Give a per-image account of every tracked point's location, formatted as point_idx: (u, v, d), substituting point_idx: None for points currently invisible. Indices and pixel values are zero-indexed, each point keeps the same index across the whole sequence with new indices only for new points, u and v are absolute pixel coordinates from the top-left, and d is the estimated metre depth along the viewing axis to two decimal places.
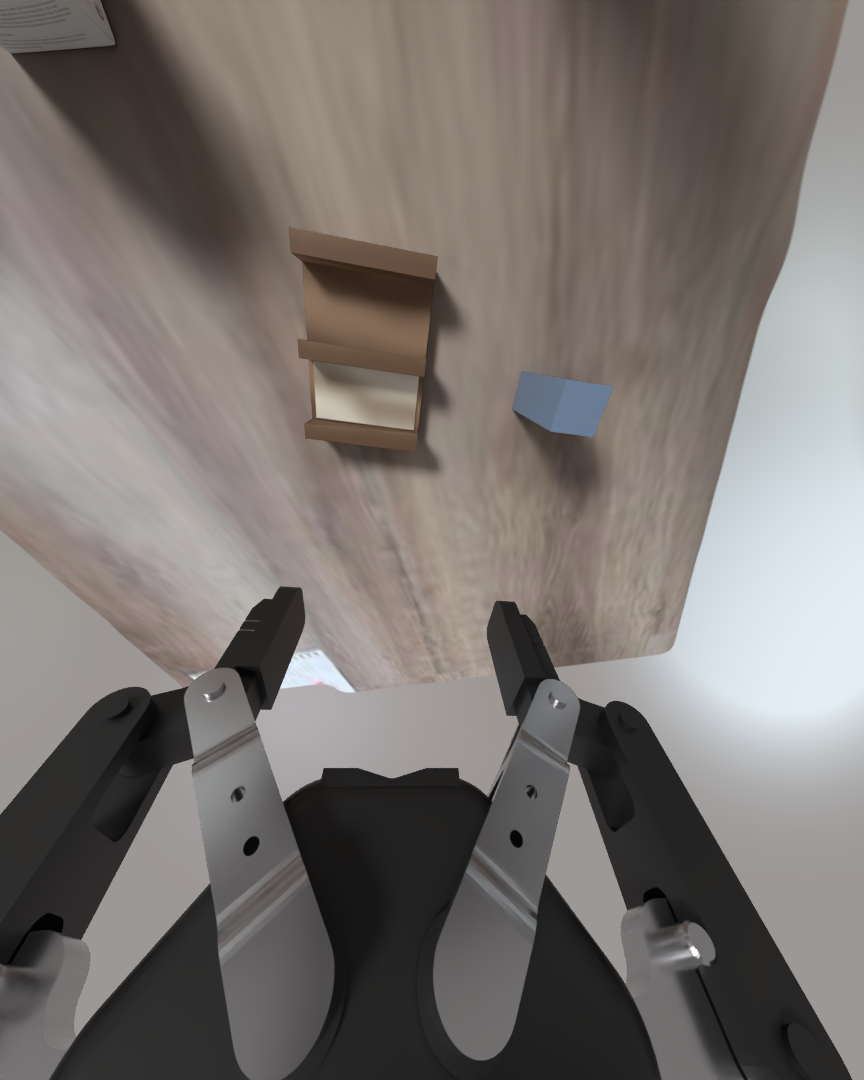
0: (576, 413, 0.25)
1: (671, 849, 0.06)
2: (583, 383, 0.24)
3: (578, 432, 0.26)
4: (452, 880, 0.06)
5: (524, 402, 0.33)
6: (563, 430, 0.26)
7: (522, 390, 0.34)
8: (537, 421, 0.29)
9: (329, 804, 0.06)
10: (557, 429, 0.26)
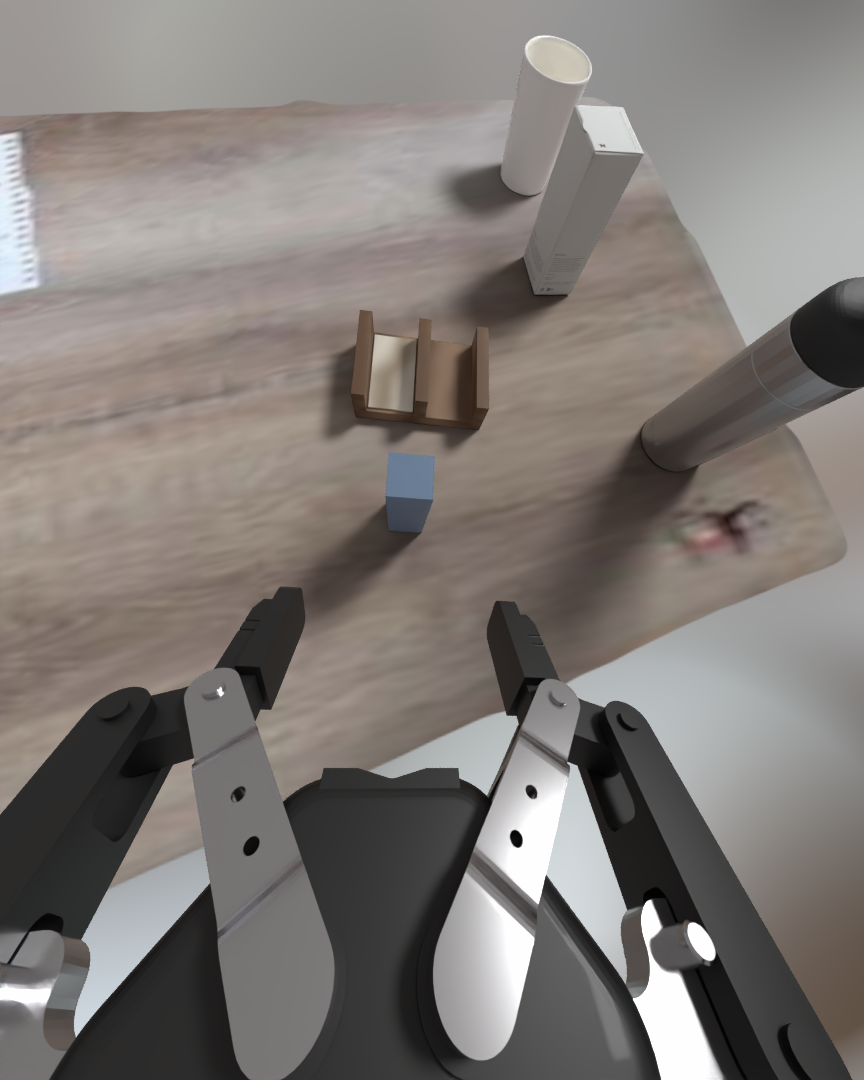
0: (406, 472, 0.26)
1: (671, 849, 0.06)
2: (433, 471, 0.26)
3: (389, 479, 0.26)
4: (452, 880, 0.06)
5: None
6: (390, 464, 0.26)
7: None
8: None
9: (329, 804, 0.06)
10: (391, 458, 0.26)
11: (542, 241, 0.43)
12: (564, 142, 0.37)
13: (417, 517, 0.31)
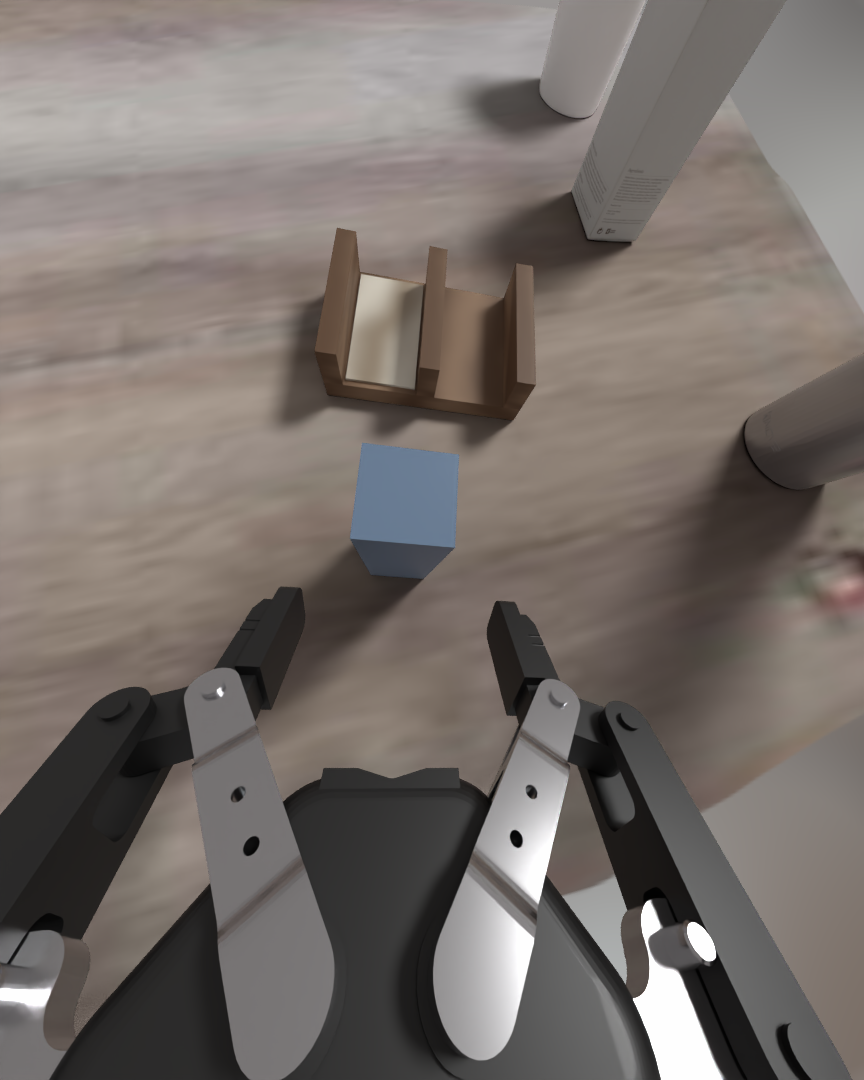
0: (399, 486, 0.12)
1: (671, 849, 0.06)
2: (455, 485, 0.12)
3: (360, 501, 0.12)
4: (452, 880, 0.06)
5: None
6: (364, 469, 0.12)
7: None
8: None
9: (329, 804, 0.06)
10: (366, 456, 0.12)
11: (607, 155, 0.30)
12: None
13: (418, 565, 0.17)
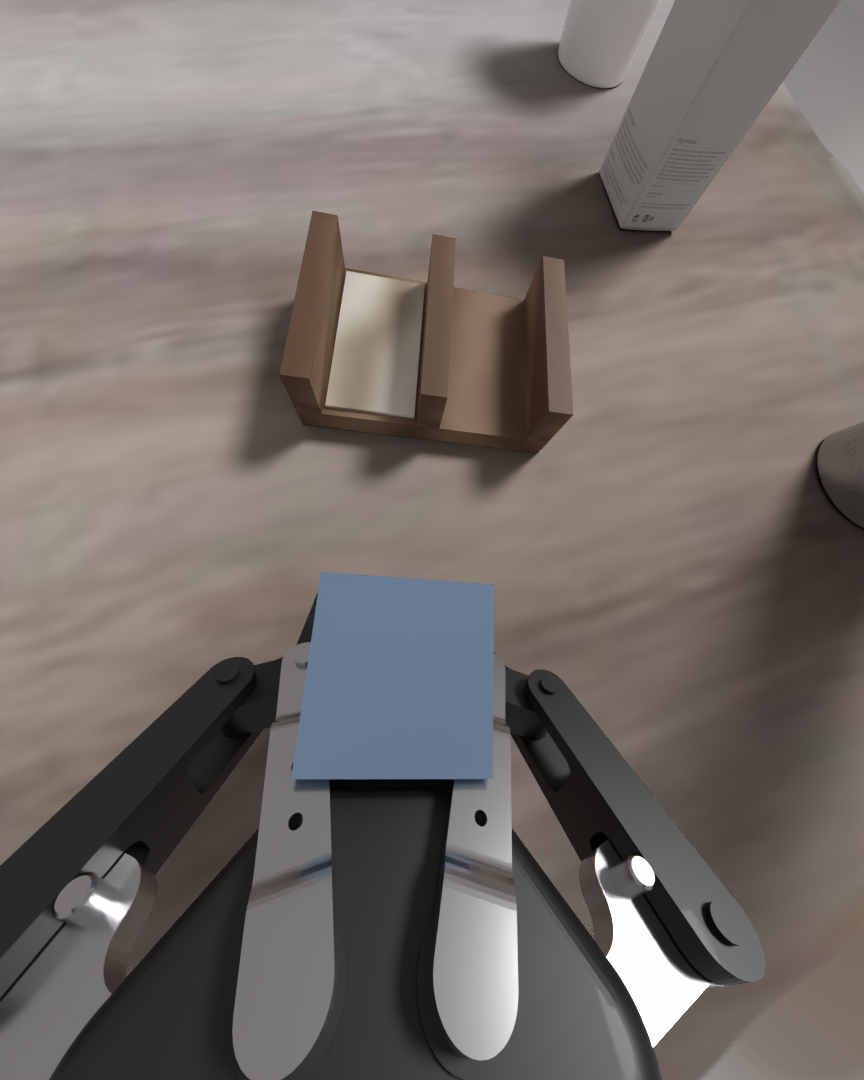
0: (388, 657, 0.07)
1: (604, 795, 0.07)
2: (489, 647, 0.07)
3: (314, 695, 0.06)
4: (431, 889, 0.05)
5: None
6: (323, 626, 0.07)
7: None
8: None
9: None
10: (328, 599, 0.07)
11: (649, 123, 0.25)
12: None
13: None
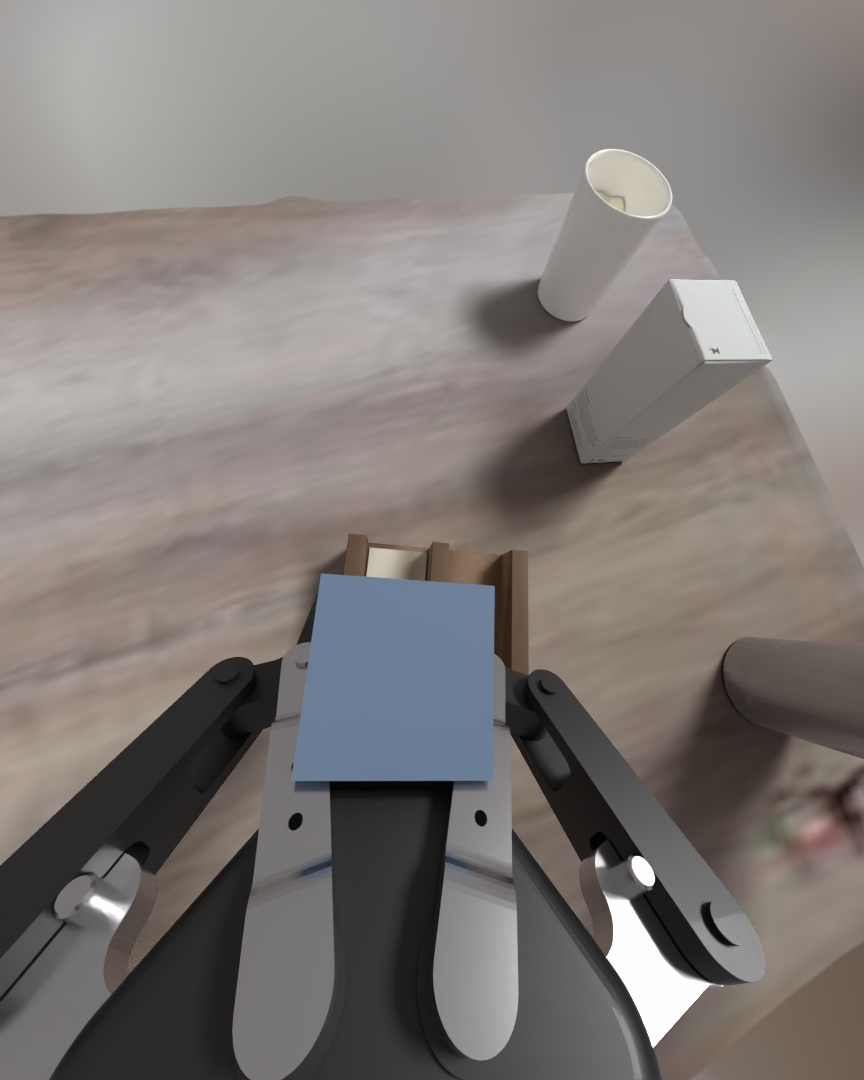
0: (388, 658, 0.07)
1: (604, 795, 0.07)
2: (489, 649, 0.07)
3: (314, 696, 0.06)
4: (431, 889, 0.05)
5: None
6: (323, 627, 0.07)
7: None
8: None
9: (329, 804, 0.06)
10: (328, 600, 0.07)
11: (598, 413, 0.33)
12: (646, 316, 0.26)
13: None
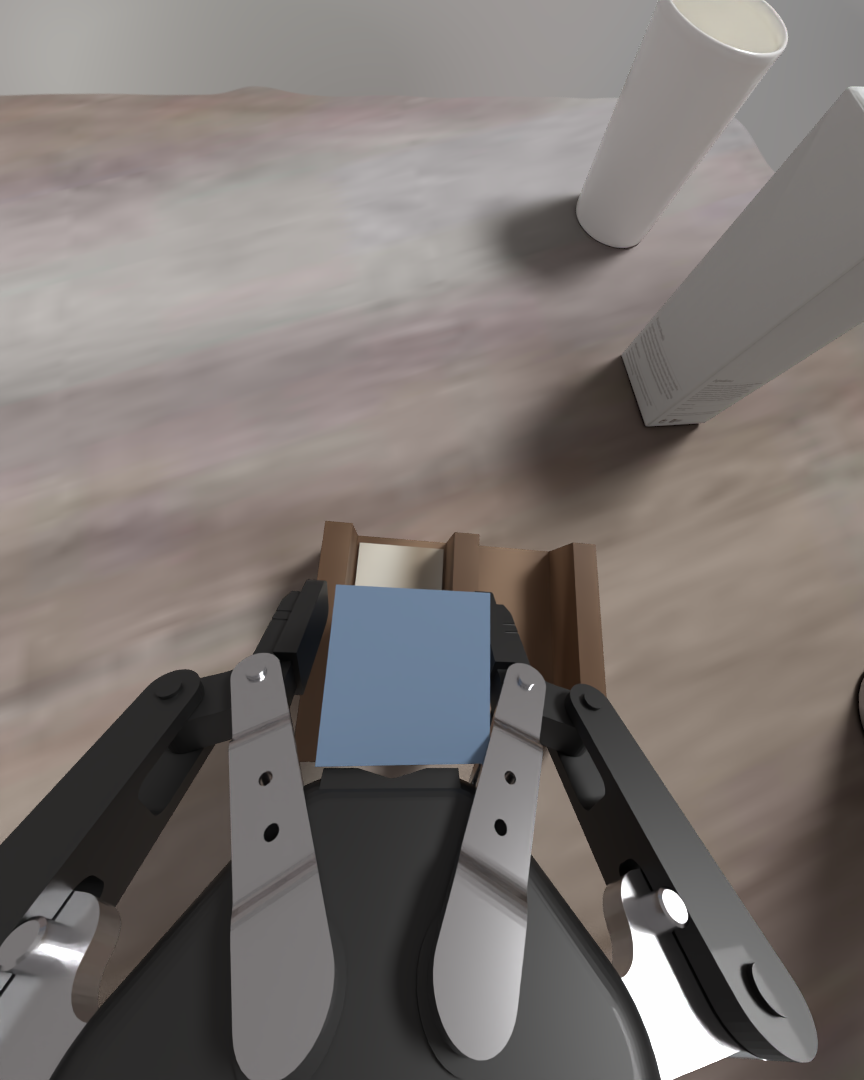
0: (397, 659, 0.07)
1: (640, 821, 0.07)
2: (486, 649, 0.08)
3: (333, 693, 0.07)
4: (442, 882, 0.06)
5: None
6: (339, 632, 0.07)
7: None
8: None
9: (329, 804, 0.06)
10: (343, 608, 0.07)
11: (681, 350, 0.23)
12: (789, 171, 0.16)
13: None
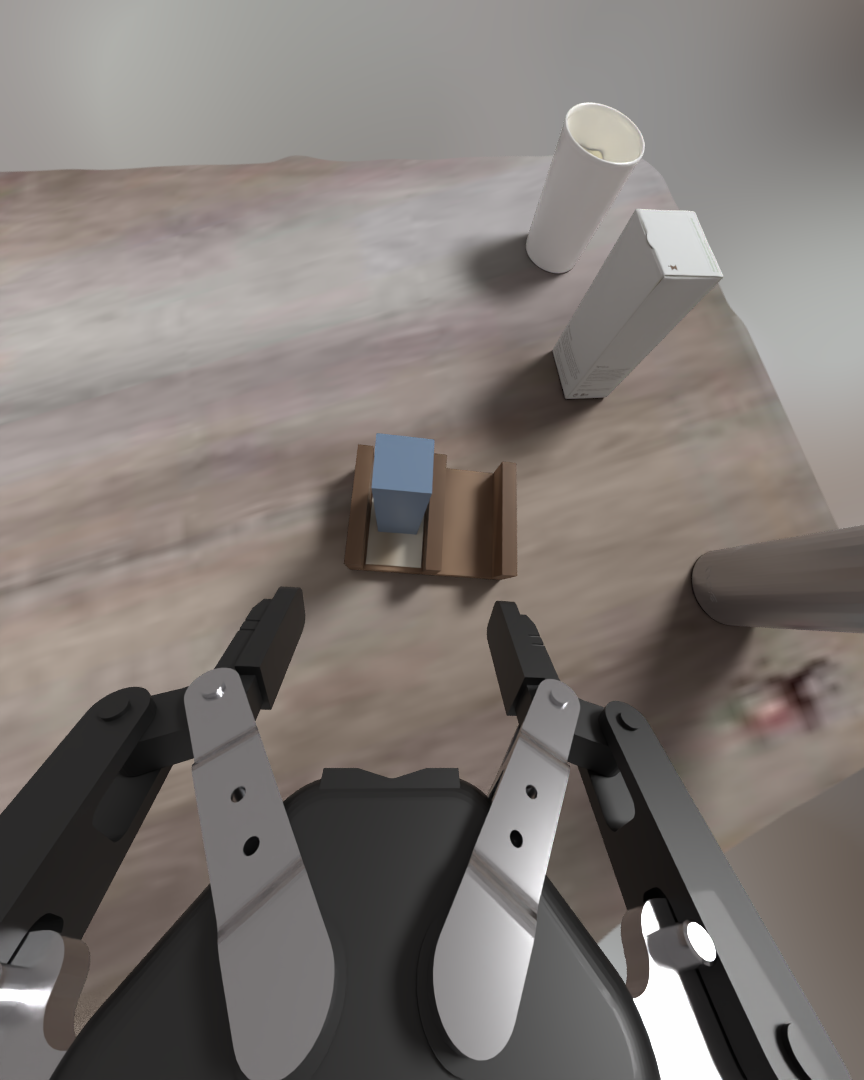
0: (399, 458, 0.21)
1: (671, 849, 0.06)
2: (432, 458, 0.21)
3: (376, 467, 0.20)
4: (452, 880, 0.06)
5: None
6: (378, 448, 0.21)
7: None
8: None
9: (329, 804, 0.06)
10: (379, 441, 0.21)
11: (579, 347, 0.36)
12: (618, 247, 0.29)
13: (412, 516, 0.26)
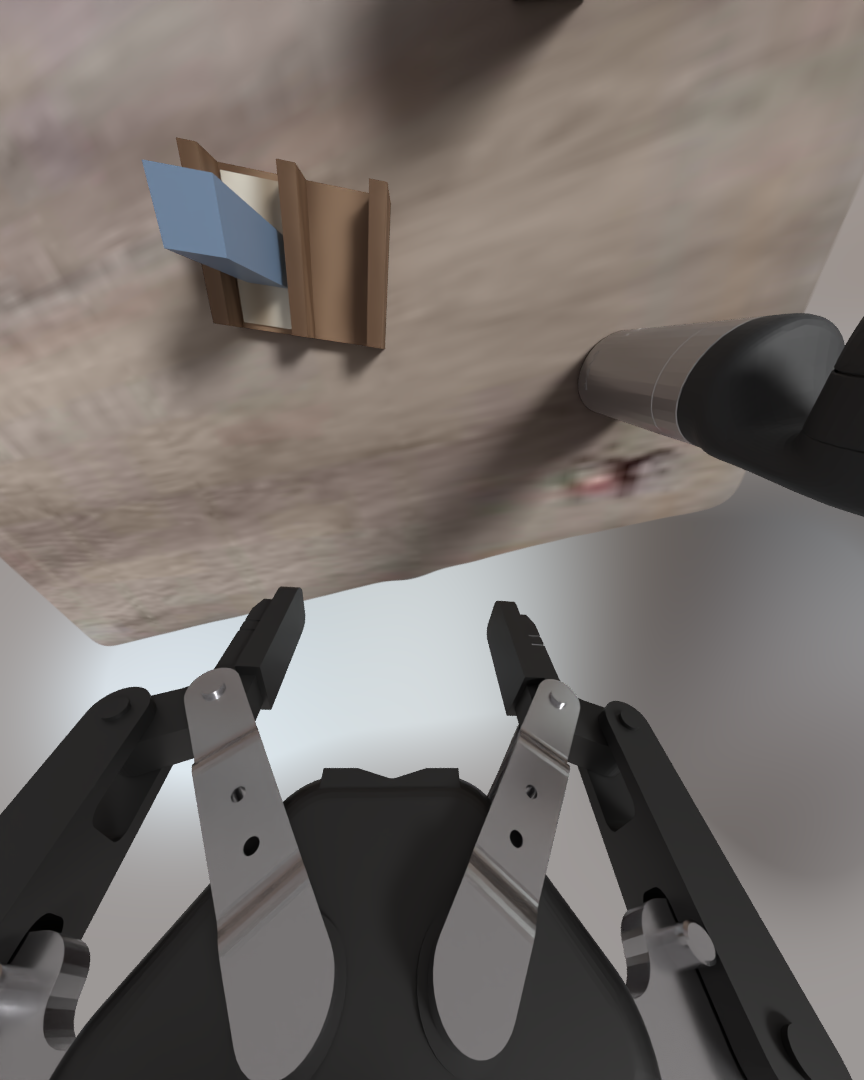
0: (180, 205, 0.19)
1: (671, 849, 0.06)
2: (216, 204, 0.20)
3: (160, 217, 0.20)
4: (452, 880, 0.06)
5: None
6: (152, 187, 0.19)
7: None
8: None
9: (329, 804, 0.06)
10: (149, 174, 0.19)
11: None
12: None
13: (249, 273, 0.26)
